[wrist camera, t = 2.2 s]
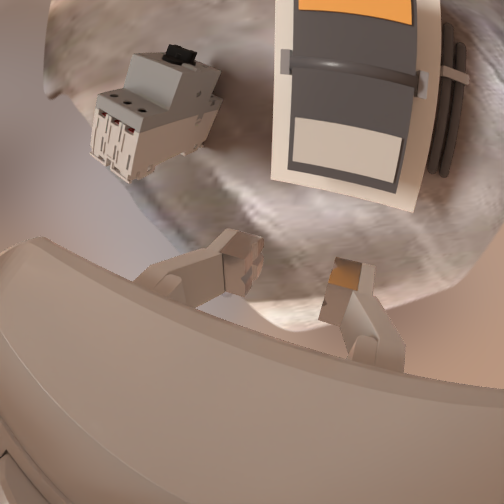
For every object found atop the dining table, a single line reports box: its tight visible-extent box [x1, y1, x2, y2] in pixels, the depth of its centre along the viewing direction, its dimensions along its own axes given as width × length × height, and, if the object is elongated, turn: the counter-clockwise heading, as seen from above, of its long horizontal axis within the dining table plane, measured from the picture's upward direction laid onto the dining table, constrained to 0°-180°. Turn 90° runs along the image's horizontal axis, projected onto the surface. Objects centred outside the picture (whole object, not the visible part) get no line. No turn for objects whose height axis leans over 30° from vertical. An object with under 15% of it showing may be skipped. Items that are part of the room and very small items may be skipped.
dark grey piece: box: [428, 23, 469, 178], centre depth 20 cm, size 19×3×2 cm, turn 0°
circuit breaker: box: [90, 44, 223, 184], centre depth 28 cm, size 8×14×15 cm, turn 154°
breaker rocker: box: [287, 0, 418, 194], centre depth 17 cm, size 20×10×2 cm, turn 0°
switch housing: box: [271, 0, 441, 213], centre depth 20 cm, size 26×16×10 cm, turn 0°
